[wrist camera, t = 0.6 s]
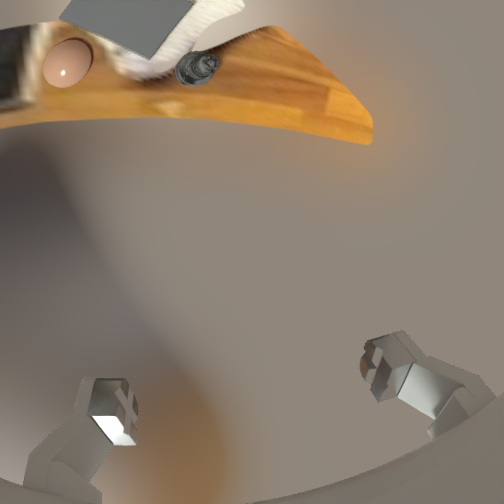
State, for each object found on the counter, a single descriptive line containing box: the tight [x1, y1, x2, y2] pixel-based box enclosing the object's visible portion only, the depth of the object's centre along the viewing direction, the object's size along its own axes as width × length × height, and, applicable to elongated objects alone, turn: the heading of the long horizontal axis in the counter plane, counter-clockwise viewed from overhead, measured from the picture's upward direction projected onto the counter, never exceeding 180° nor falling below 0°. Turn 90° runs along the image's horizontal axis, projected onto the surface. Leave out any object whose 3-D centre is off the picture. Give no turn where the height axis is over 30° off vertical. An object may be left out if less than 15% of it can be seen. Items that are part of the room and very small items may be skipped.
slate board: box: [59, 0, 193, 60], centre depth 29 cm, size 18×12×2 cm, turn 56°
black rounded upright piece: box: [175, 51, 219, 86], centre depth 36 cm, size 6×6×12 cm
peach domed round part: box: [43, 40, 91, 88], centre depth 31 cm, size 8×8×1 cm
